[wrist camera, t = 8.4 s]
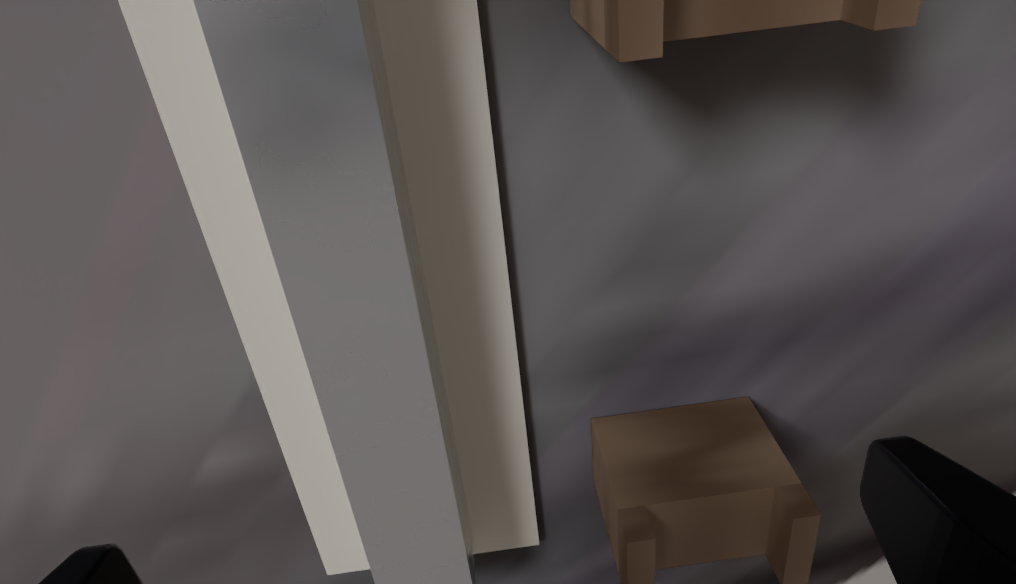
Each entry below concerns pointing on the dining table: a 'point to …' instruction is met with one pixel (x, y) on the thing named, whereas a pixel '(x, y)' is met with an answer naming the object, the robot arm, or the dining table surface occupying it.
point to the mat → (442, 242)
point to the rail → (349, 266)
